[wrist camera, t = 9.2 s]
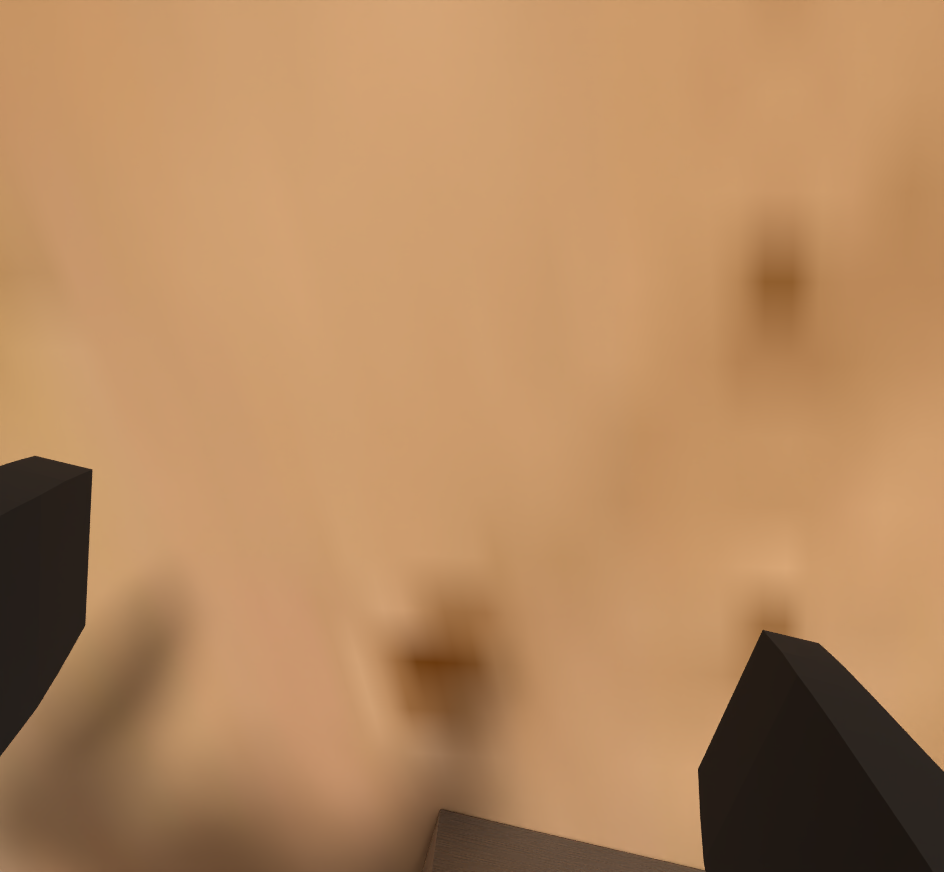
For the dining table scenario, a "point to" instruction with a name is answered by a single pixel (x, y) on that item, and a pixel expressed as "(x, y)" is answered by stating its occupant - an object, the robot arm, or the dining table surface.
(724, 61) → the dining table surface
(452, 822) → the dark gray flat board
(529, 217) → the dining table surface
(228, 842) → the dining table surface
